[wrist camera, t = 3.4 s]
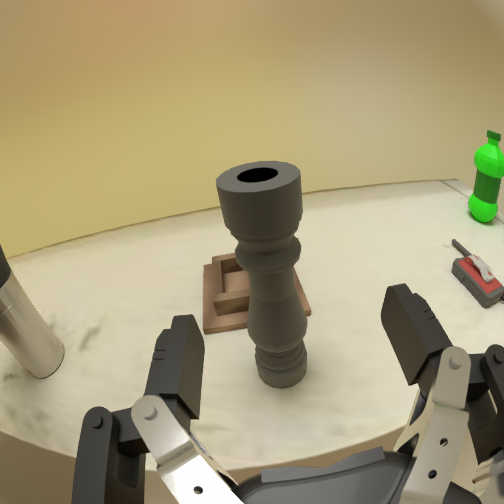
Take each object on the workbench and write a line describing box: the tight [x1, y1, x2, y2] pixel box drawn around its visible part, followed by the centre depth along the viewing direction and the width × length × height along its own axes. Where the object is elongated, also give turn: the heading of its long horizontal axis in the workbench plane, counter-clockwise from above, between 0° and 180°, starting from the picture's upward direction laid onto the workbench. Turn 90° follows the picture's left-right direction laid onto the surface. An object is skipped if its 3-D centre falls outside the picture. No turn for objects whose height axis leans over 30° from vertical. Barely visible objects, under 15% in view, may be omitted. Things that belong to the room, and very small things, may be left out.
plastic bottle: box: [468, 130, 504, 223], centre depth 48 cm, size 10×10×25 cm
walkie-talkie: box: [452, 239, 504, 309], centre depth 38 cm, size 9×4×20 cm
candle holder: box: [216, 161, 307, 388], centre depth 25 cm, size 6×6×25 cm
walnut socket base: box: [203, 253, 311, 334], centre depth 45 cm, size 16×16×4 cm
